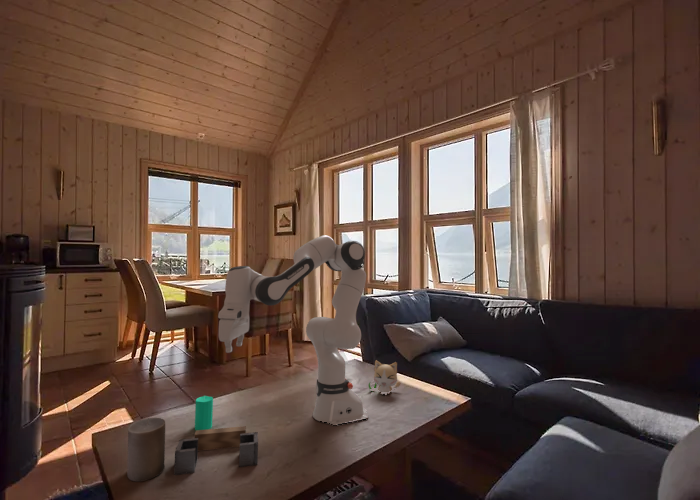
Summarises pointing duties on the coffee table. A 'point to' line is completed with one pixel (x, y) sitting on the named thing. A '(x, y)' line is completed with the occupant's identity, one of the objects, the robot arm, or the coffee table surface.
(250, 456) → the endcap
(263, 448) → the coffee table surface
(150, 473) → the pillar candle
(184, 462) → the endcap
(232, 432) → the slat
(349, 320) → the robot arm
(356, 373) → the coffee table surface
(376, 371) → the kitten
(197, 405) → the candle
